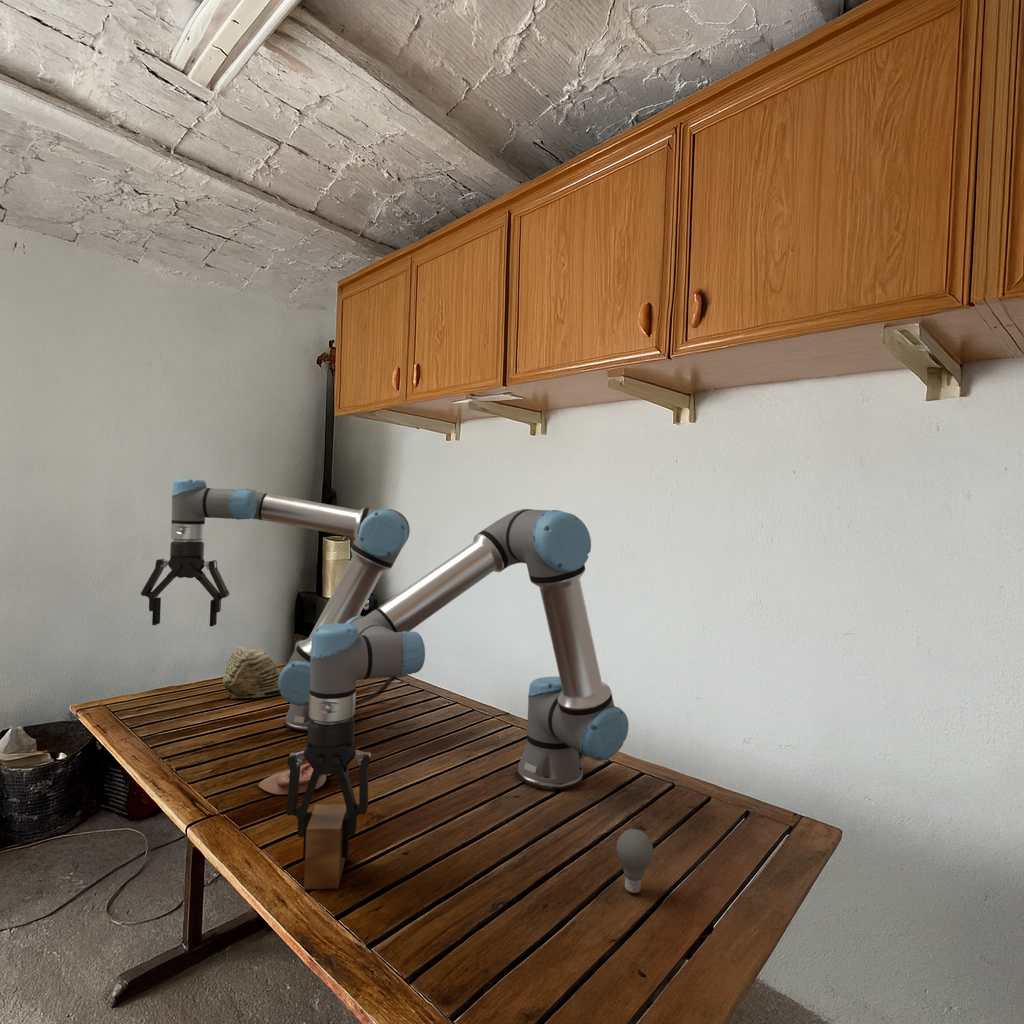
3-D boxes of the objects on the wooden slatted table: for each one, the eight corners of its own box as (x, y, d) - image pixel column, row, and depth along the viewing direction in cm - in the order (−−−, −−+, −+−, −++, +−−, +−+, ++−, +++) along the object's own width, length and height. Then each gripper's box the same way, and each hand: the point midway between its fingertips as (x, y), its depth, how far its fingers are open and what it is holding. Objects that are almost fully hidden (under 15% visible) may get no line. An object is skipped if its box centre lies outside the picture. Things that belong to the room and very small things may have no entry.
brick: (303, 889, 102) (306, 829, 102) (313, 860, 111) (315, 804, 110) (338, 888, 103) (340, 828, 103) (345, 859, 111) (347, 803, 111)
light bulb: (610, 879, 108) (613, 822, 108) (644, 879, 109) (647, 822, 109) (619, 902, 102) (622, 840, 102) (655, 901, 103) (658, 840, 103)
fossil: (218, 695, 195) (220, 647, 195) (278, 685, 208) (279, 640, 207) (228, 703, 189) (230, 653, 188) (289, 692, 201) (290, 645, 201)
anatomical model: (250, 772, 134) (280, 751, 146) (249, 790, 135) (280, 768, 146) (307, 780, 132) (333, 759, 143) (306, 799, 132) (333, 776, 143)
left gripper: (127, 539, 154) (124, 626, 154) (234, 543, 157) (231, 628, 157) (141, 537, 161) (138, 620, 162) (243, 541, 164) (240, 622, 165)
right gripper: (268, 725, 102) (262, 868, 102) (386, 725, 104) (380, 865, 104) (279, 709, 109) (274, 843, 109) (389, 710, 111) (384, 840, 112)
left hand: (184, 624), depth 159 cm, fingers open, 13 cm apart
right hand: (326, 853), depth 107 cm, fingers open, 6 cm apart
